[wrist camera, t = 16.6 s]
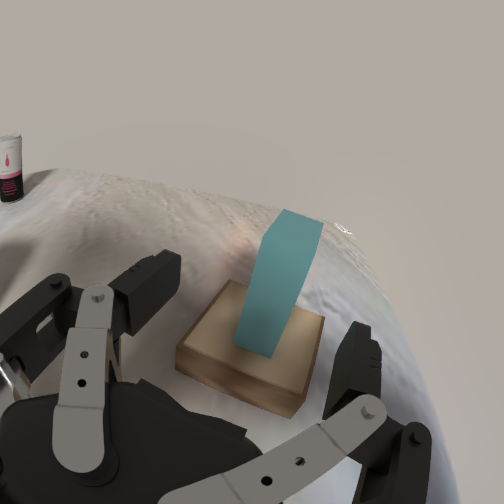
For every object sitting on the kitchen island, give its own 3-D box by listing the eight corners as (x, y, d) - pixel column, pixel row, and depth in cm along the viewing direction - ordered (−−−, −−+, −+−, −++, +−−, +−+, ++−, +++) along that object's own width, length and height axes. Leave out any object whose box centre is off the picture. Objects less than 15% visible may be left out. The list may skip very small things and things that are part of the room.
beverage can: (27, 192, 51) (25, 132, 44) (18, 203, 46) (15, 138, 39) (6, 194, 49) (3, 135, 41) (-4, 205, 44) (-8, 141, 36)
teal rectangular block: (287, 316, 32) (323, 223, 26) (270, 359, 26) (314, 255, 20) (254, 303, 33) (283, 208, 27) (232, 343, 27) (262, 236, 21)
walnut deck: (313, 338, 36) (326, 314, 34) (290, 418, 25) (306, 398, 23) (224, 302, 38) (229, 276, 36) (175, 369, 27) (176, 343, 25)
